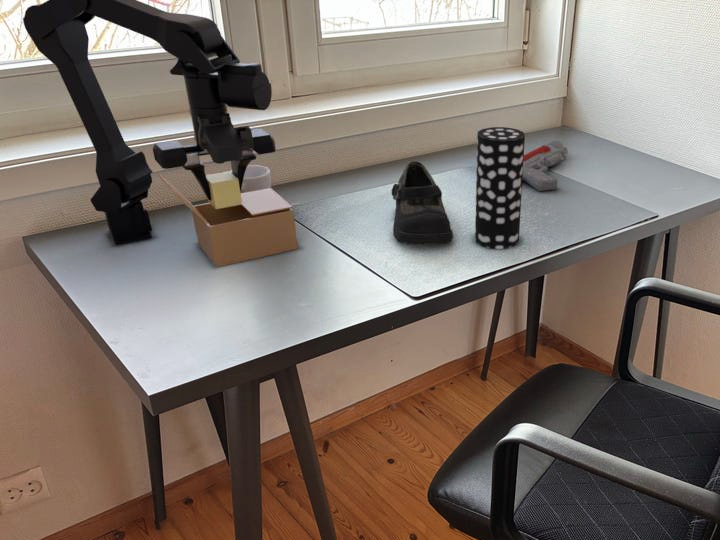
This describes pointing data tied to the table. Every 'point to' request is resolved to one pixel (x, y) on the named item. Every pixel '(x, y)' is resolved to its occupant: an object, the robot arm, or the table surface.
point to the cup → (256, 178)
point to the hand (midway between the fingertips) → (223, 197)
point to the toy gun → (542, 165)
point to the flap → (182, 198)
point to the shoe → (419, 208)
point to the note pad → (224, 190)
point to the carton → (246, 228)
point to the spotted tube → (499, 186)
